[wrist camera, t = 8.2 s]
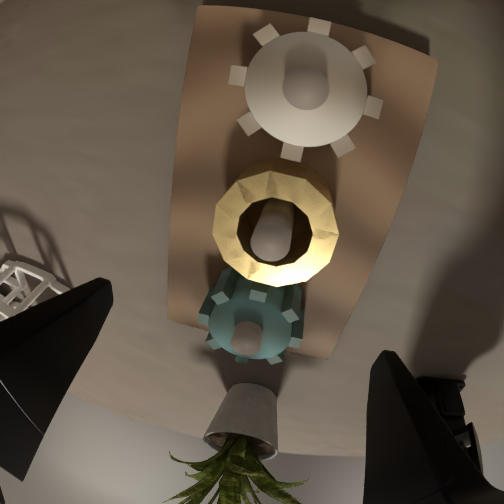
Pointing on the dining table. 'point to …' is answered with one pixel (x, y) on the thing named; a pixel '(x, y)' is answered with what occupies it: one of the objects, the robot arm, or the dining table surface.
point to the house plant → (240, 450)
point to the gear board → (296, 149)
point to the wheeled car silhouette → (24, 286)
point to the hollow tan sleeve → (301, 247)
